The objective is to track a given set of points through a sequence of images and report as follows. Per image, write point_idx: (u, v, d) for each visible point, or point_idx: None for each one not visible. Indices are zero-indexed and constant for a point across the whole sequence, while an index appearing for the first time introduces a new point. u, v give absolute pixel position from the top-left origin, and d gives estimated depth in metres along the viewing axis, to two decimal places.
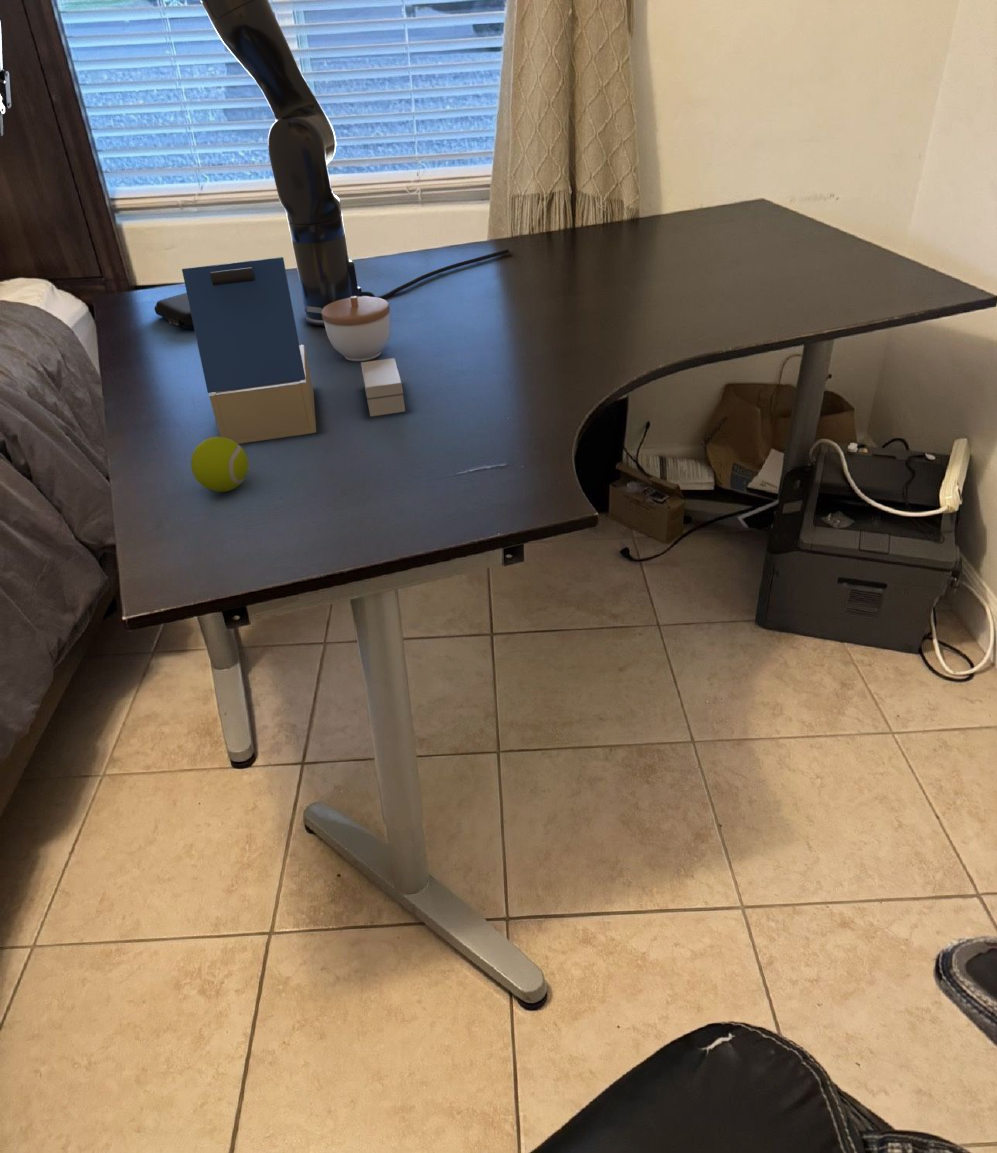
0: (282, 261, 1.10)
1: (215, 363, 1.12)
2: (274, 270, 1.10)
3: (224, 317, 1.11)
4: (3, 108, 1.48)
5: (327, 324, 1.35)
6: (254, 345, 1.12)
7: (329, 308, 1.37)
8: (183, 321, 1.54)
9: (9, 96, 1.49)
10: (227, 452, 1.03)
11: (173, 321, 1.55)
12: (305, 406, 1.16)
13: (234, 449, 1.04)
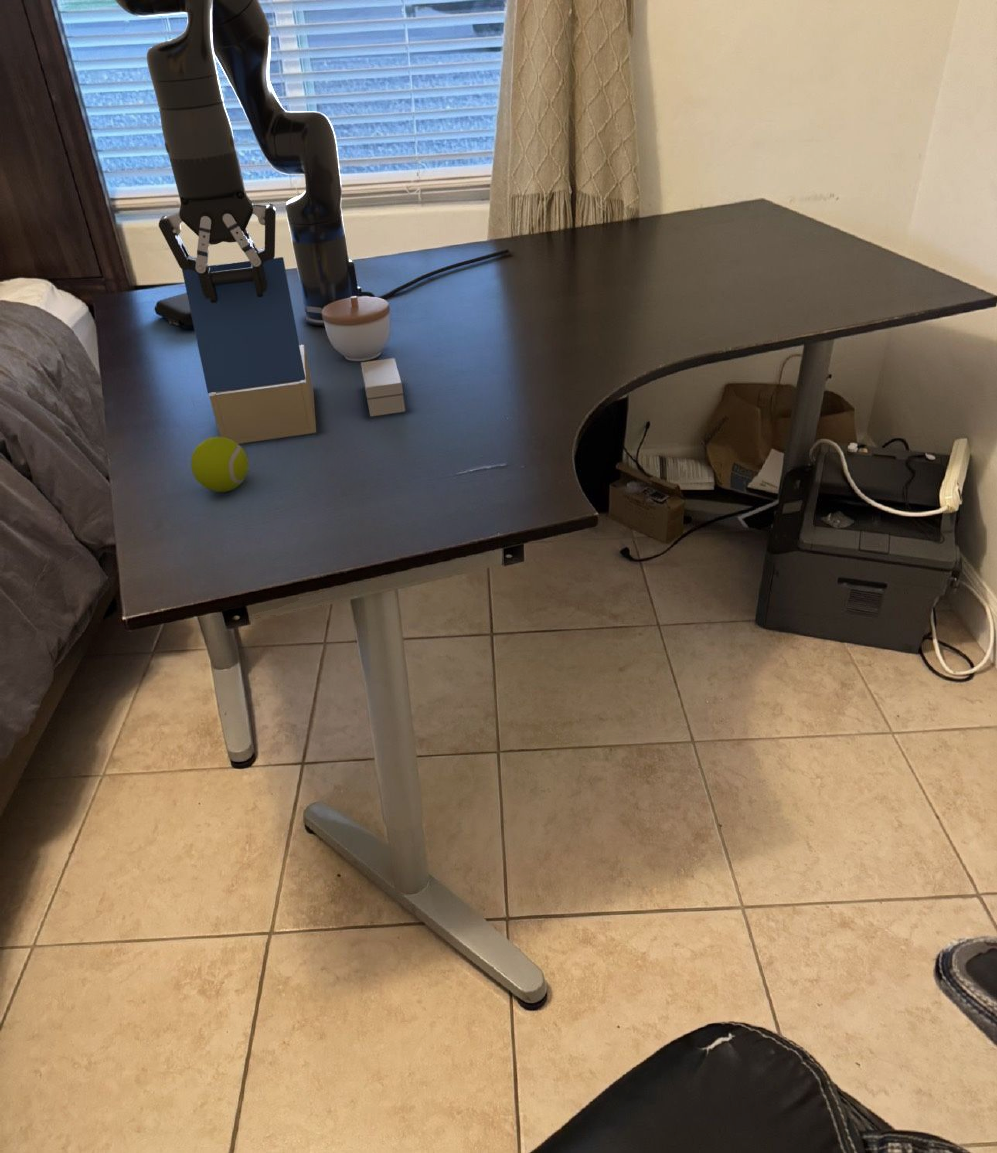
0: (282, 261, 1.10)
1: (215, 363, 1.12)
2: (274, 270, 1.10)
3: (224, 317, 1.11)
4: None
5: (327, 324, 1.35)
6: (254, 345, 1.12)
7: (329, 308, 1.37)
8: (183, 321, 1.54)
9: None
10: (227, 452, 1.03)
11: (173, 321, 1.55)
12: (305, 406, 1.16)
13: (234, 449, 1.04)
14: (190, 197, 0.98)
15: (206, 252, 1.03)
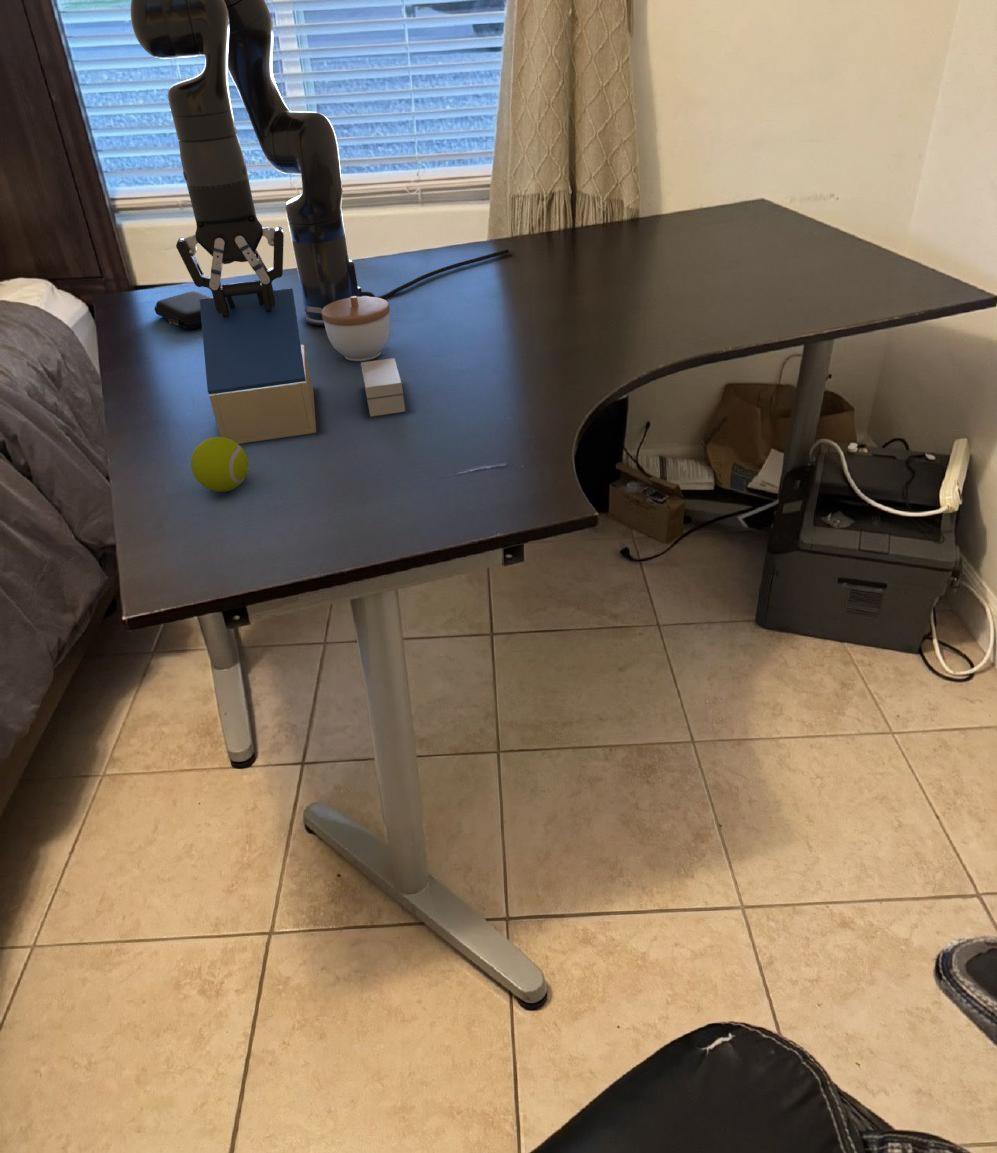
0: (291, 291, 1.20)
1: (218, 367, 1.14)
2: (283, 297, 1.19)
3: (233, 332, 1.16)
4: None
5: (327, 324, 1.35)
6: (258, 352, 1.15)
7: (329, 308, 1.37)
8: (183, 321, 1.54)
9: None
10: (227, 452, 1.03)
11: (173, 321, 1.55)
12: (305, 406, 1.16)
13: (234, 449, 1.04)
14: (205, 221, 1.07)
15: (219, 271, 1.12)
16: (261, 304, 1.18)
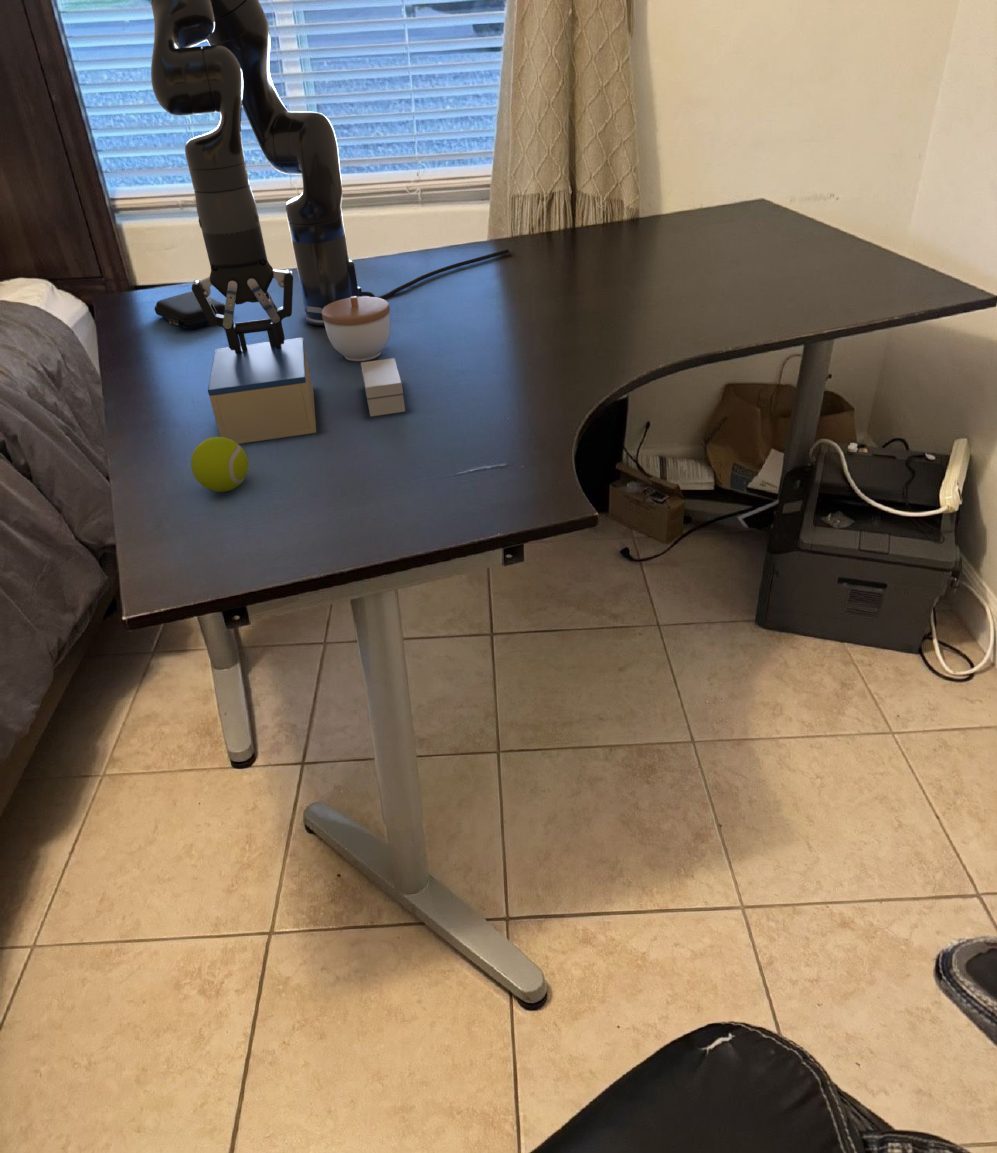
0: (302, 338, 1.26)
1: (222, 378, 1.16)
2: (293, 342, 1.25)
3: (241, 360, 1.20)
4: None
5: (327, 324, 1.35)
6: (262, 368, 1.18)
7: (329, 308, 1.37)
8: (183, 321, 1.54)
9: None
10: (227, 452, 1.03)
11: (173, 321, 1.55)
12: (305, 406, 1.16)
13: (234, 449, 1.04)
14: (219, 265, 1.14)
15: (232, 311, 1.18)
16: (271, 346, 1.24)
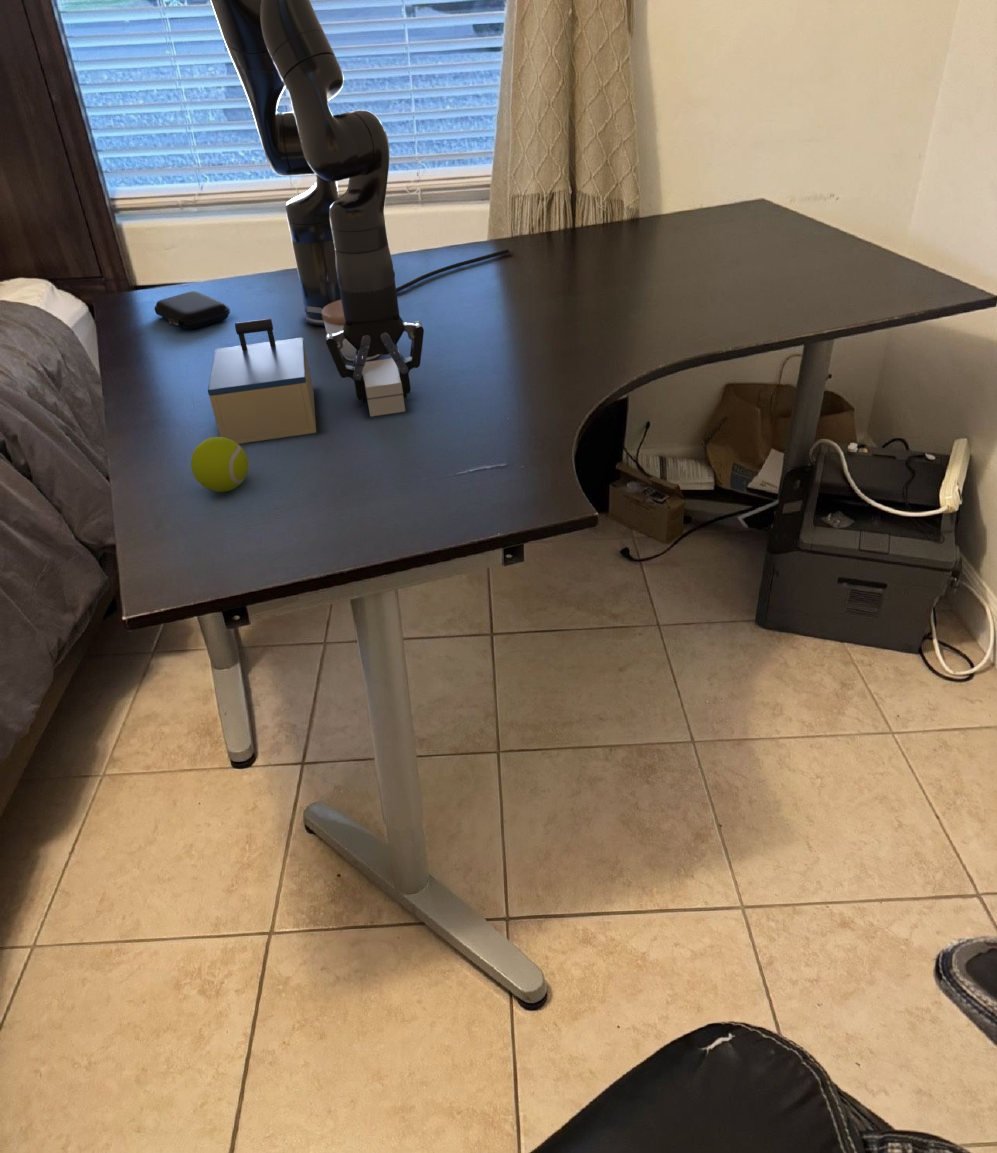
0: (302, 338, 1.26)
1: (222, 378, 1.16)
2: (293, 342, 1.25)
3: (241, 360, 1.20)
4: None
5: (327, 324, 1.35)
6: (262, 368, 1.18)
7: (329, 308, 1.37)
8: (183, 321, 1.54)
9: None
10: (227, 452, 1.03)
11: (173, 321, 1.55)
12: (305, 406, 1.16)
13: (234, 449, 1.04)
14: (356, 321, 1.16)
15: (364, 363, 1.21)
16: (271, 346, 1.24)
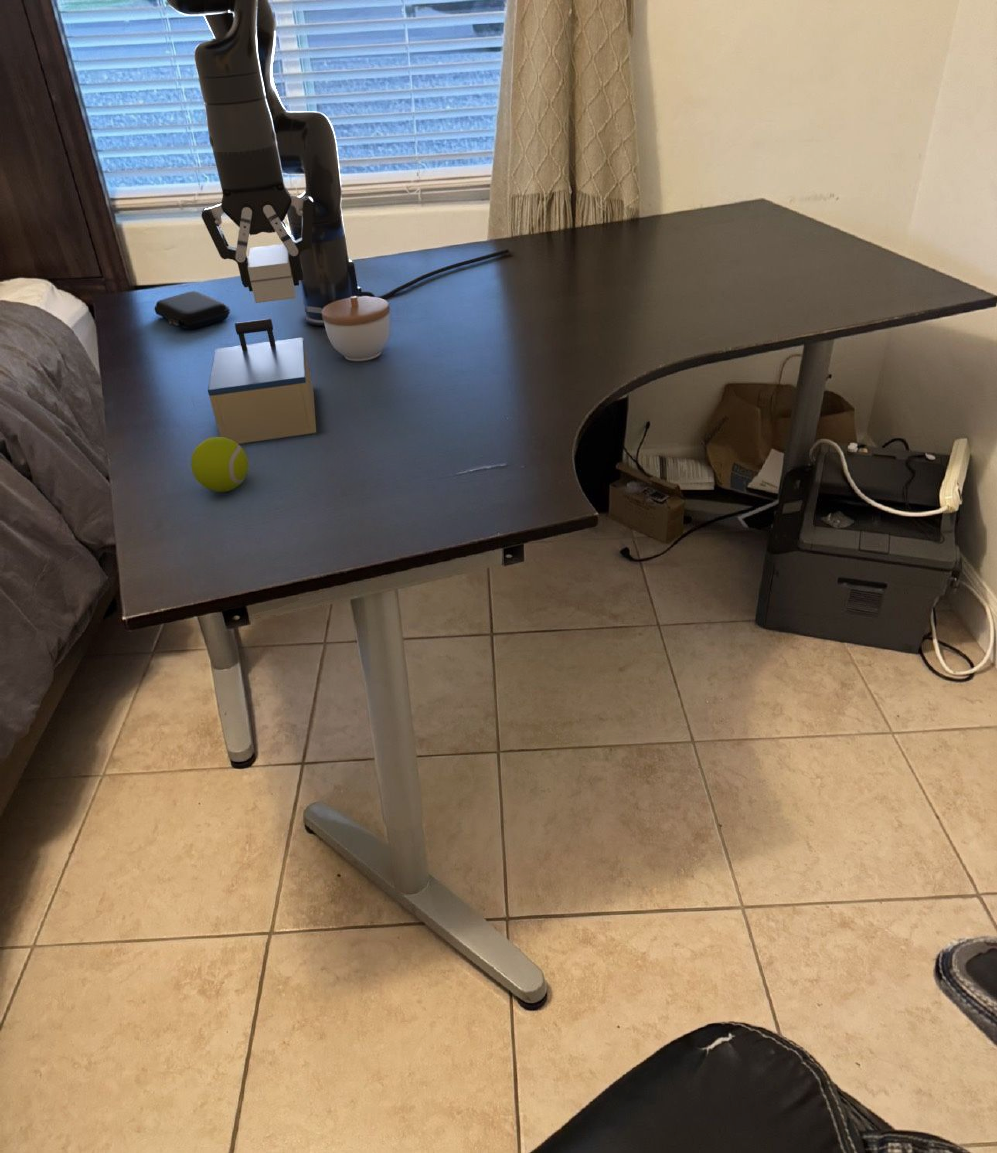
0: (302, 338, 1.26)
1: (222, 378, 1.16)
2: (293, 342, 1.25)
3: (241, 360, 1.20)
4: None
5: (327, 324, 1.35)
6: (262, 368, 1.18)
7: (329, 308, 1.37)
8: (183, 321, 1.54)
9: None
10: (227, 452, 1.03)
11: (173, 321, 1.55)
12: (305, 406, 1.16)
13: (234, 449, 1.04)
14: (233, 189, 1.03)
15: (246, 242, 1.07)
16: (271, 346, 1.24)
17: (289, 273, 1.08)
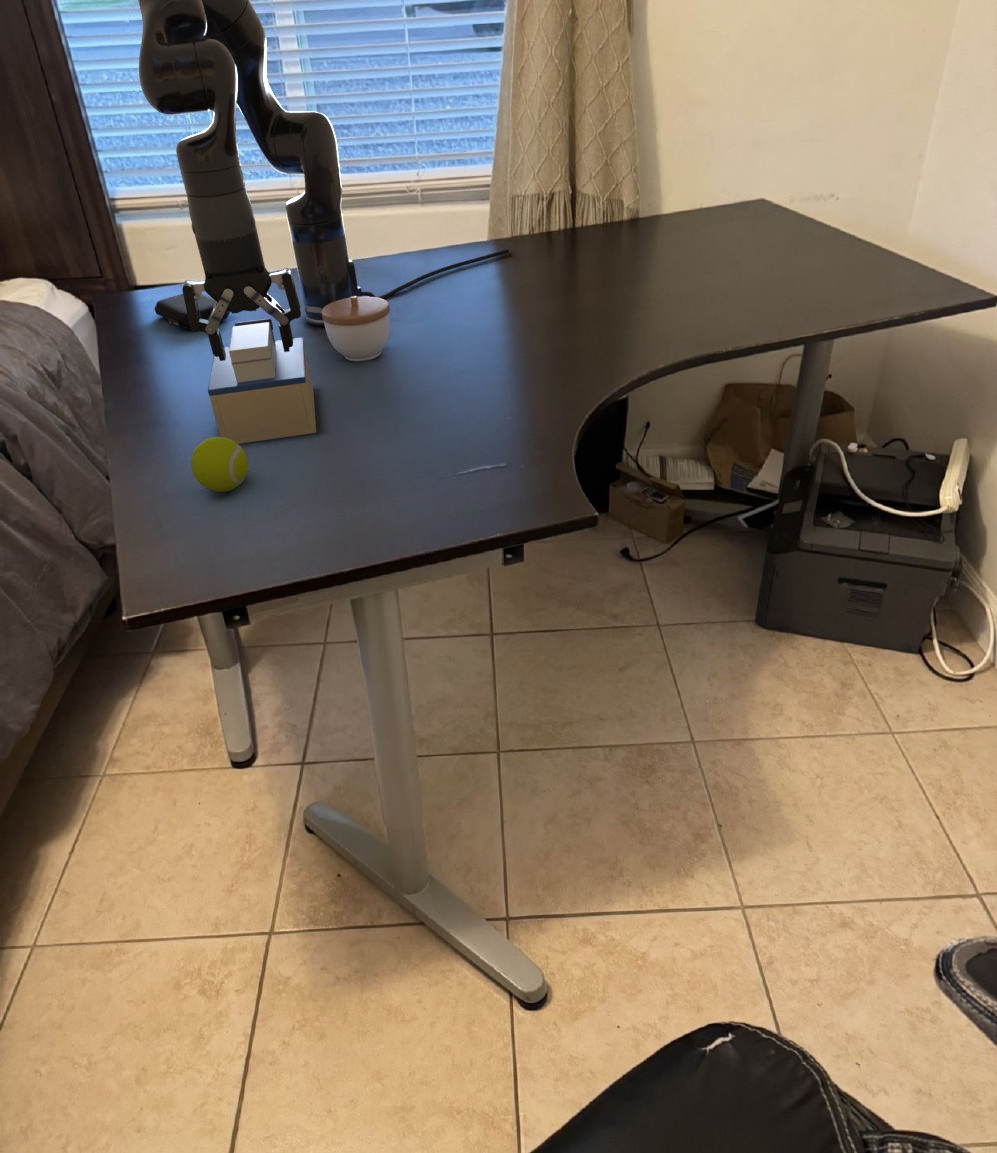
0: (302, 338, 1.26)
1: (222, 378, 1.16)
2: (293, 342, 1.25)
3: None
4: None
5: (327, 324, 1.35)
6: None
7: (329, 308, 1.37)
8: (183, 321, 1.54)
9: None
10: (227, 452, 1.03)
11: (173, 321, 1.55)
12: (305, 406, 1.16)
13: (234, 449, 1.04)
14: (214, 273, 1.07)
15: (220, 318, 1.12)
16: None
17: (269, 355, 1.13)
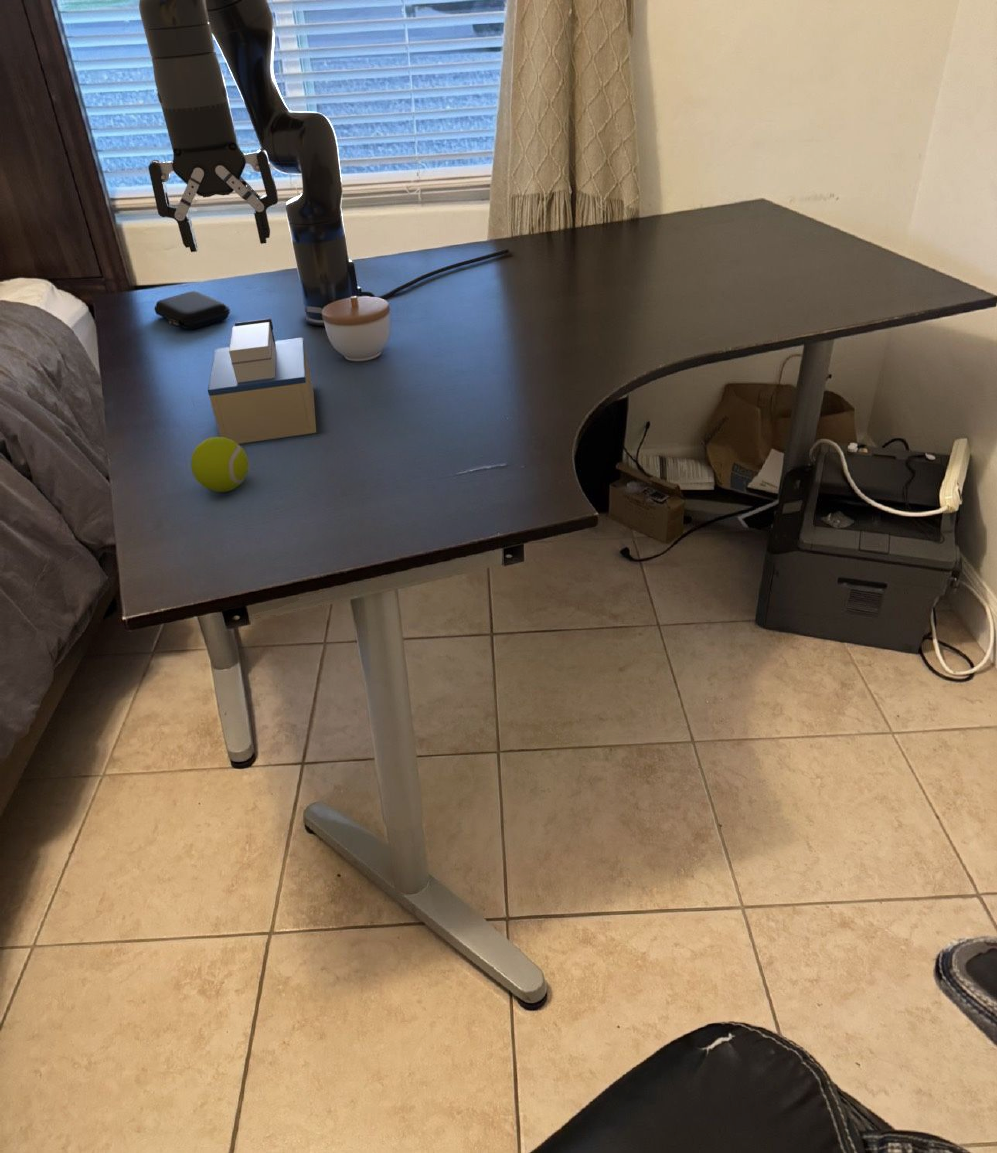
0: (302, 338, 1.26)
1: (222, 378, 1.16)
2: (293, 342, 1.25)
3: None
4: None
5: (327, 324, 1.35)
6: None
7: (329, 308, 1.37)
8: (183, 321, 1.54)
9: None
10: (227, 452, 1.03)
11: (173, 321, 1.55)
12: (305, 406, 1.16)
13: (234, 449, 1.04)
14: (182, 148, 0.99)
15: (190, 202, 1.03)
16: None
17: (269, 355, 1.13)
